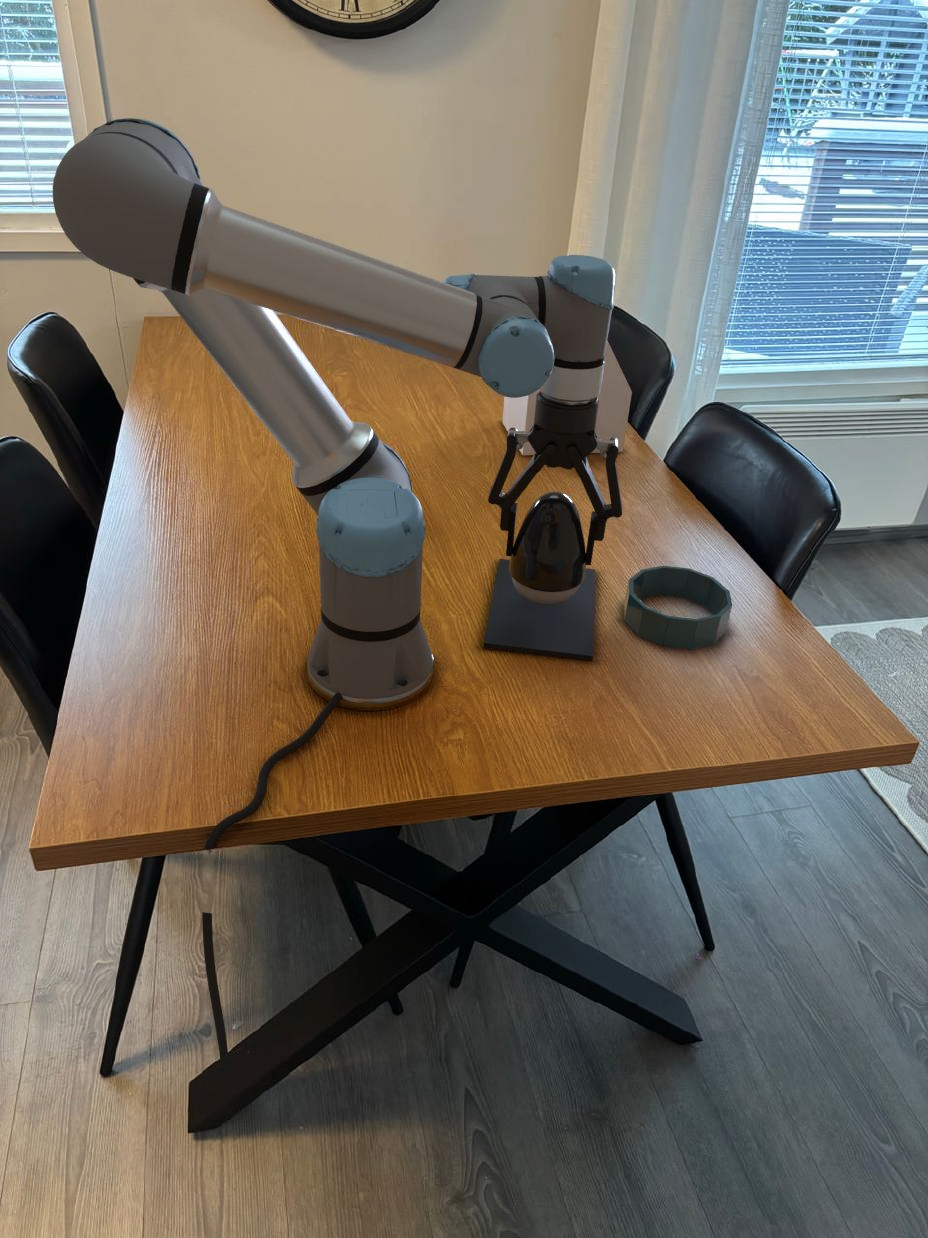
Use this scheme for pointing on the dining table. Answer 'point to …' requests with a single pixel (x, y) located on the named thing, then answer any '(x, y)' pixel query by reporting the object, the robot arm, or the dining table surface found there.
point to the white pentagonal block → (609, 412)
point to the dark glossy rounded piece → (549, 551)
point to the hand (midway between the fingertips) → (548, 555)
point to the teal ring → (671, 627)
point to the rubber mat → (541, 620)
